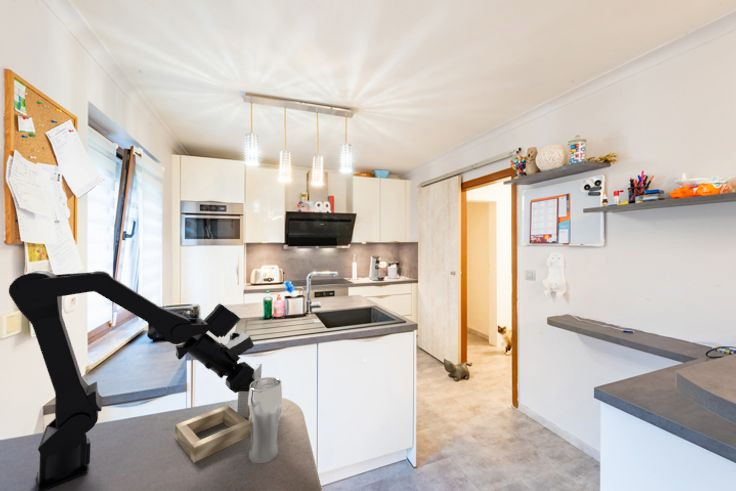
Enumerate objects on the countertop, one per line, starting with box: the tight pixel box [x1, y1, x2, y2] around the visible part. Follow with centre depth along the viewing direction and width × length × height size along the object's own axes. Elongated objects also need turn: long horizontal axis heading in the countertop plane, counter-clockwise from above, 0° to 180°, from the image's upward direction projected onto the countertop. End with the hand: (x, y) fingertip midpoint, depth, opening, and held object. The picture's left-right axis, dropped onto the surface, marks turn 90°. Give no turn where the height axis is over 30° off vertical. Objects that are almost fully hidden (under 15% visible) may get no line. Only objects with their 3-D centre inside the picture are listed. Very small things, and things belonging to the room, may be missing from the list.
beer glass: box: [247, 376, 283, 464], centre depth 64 cm, size 7×7×15 cm
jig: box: [174, 405, 251, 463], centre depth 69 cm, size 12×12×3 cm
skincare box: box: [236, 362, 263, 419], centre depth 80 cm, size 6×4×12 cm
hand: (253, 384), depth 81 cm, fingers open, 9 cm apart
